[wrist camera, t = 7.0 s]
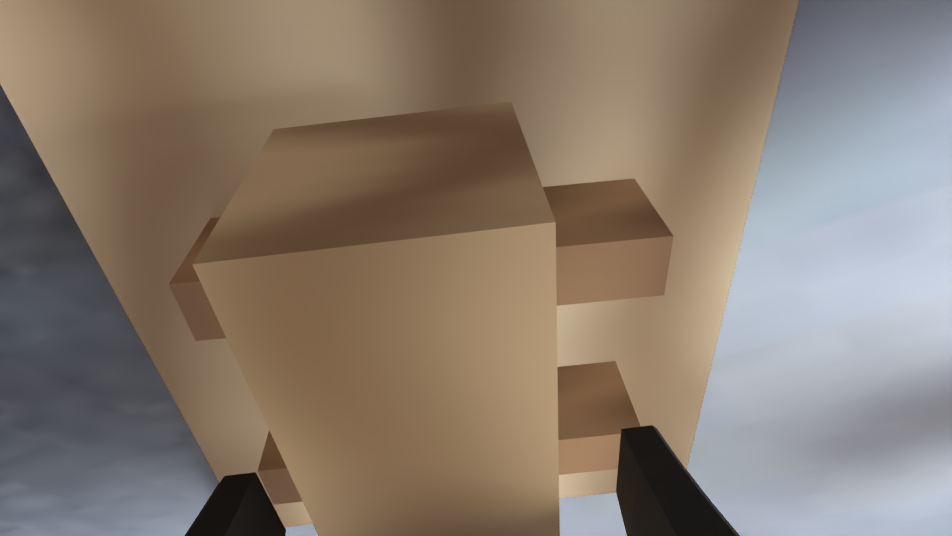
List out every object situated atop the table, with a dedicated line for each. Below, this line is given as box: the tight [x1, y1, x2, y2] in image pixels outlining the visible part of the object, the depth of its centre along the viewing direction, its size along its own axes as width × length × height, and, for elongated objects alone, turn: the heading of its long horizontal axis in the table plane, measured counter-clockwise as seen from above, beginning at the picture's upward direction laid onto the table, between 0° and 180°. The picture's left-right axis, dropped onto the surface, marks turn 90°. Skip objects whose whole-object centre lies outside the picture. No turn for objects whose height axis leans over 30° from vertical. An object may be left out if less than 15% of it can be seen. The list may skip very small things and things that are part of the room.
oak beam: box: [192, 102, 560, 536], centre depth 11 cm, size 4×12×4 cm, turn 5°
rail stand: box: [0, 0, 799, 527], centre depth 15 cm, size 16×18×3 cm
